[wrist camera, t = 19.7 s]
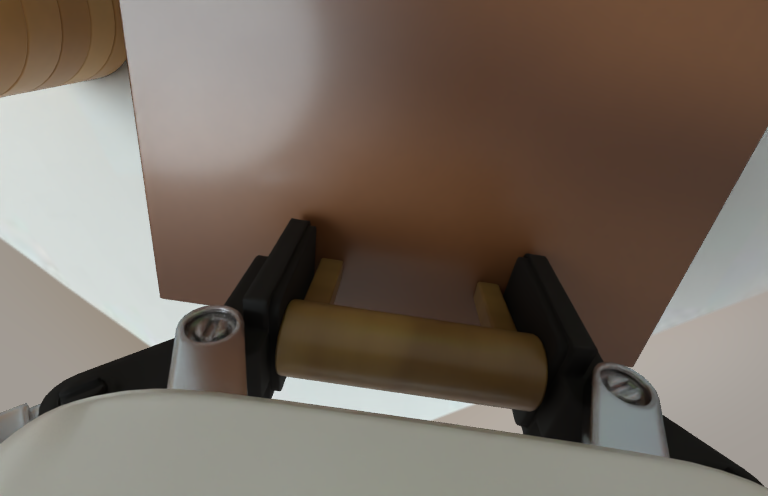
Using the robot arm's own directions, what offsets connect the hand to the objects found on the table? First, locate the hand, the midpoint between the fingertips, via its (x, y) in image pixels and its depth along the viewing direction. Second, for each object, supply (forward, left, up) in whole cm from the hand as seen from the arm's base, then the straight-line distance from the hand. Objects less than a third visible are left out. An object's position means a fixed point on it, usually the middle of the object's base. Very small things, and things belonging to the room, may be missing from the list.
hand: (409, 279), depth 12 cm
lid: (-5, -1, -2) cm, 6 cm away
